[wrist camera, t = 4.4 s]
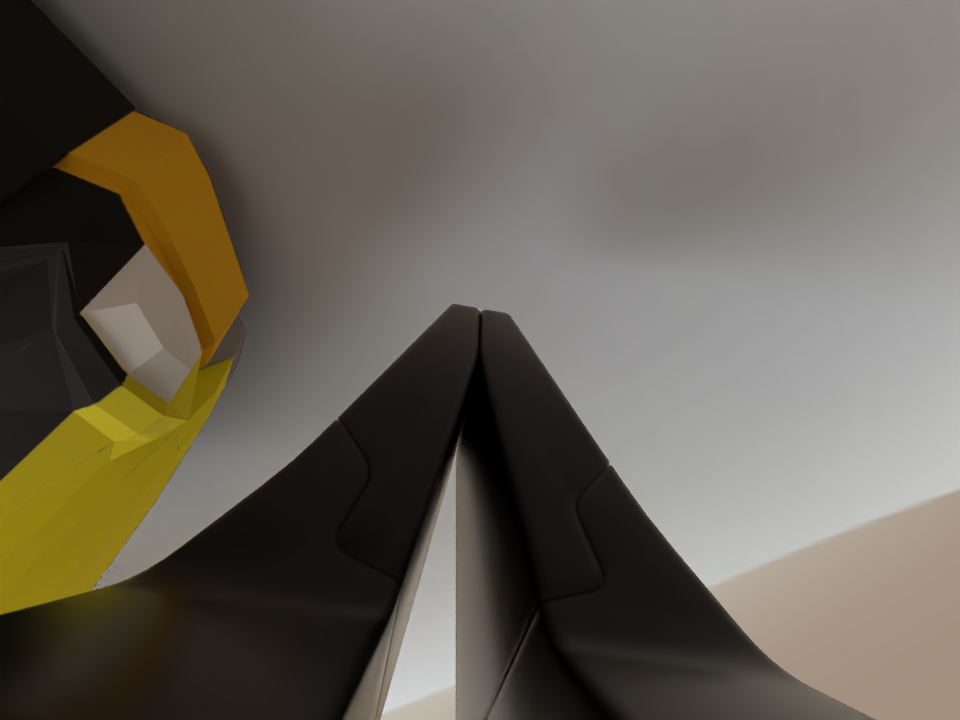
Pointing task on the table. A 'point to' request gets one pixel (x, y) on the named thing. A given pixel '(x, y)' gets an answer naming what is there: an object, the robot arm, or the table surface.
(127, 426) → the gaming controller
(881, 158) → the table surface
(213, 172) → the table surface
